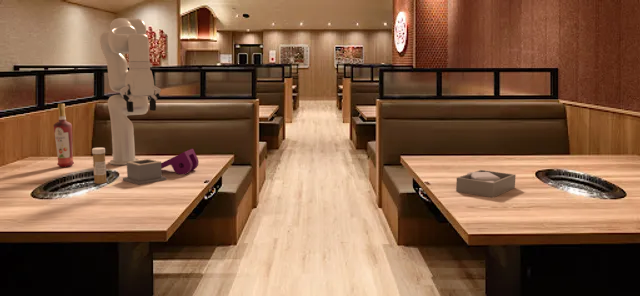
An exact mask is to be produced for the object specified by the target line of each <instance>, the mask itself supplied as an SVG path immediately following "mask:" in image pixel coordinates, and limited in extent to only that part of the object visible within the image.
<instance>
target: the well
mask: <svg viewBox="0 0 640 296" xmlns="http://www.w3.org/2000/svg"><path fill="white" fill-rule="evenodd" d="M161 163H162V161H160V160H156V159H151V158H145V159H139V160H136V161H129V162H127V165H126V173H127V176H125V177H122V180H123V181H124V182H129V183H131V184H135V185H137V186H138V185H144V184H145V185H146V184H150V183H151V184H152V183H156V182H162V181H167V177H166V176H164V175H162V172H163V171H162V170H163V169H161Z"/></svg>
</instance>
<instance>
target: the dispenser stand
mask: <svg viewBox="0 0 640 296" xmlns="http://www.w3.org/2000/svg"><path fill="white" fill-rule="evenodd" d="M475 172H490V173H492V174H494V175H496V176H498V177H500V180H498V181H495V182H485V181H478V180H472V179H470V176H471V174H473V173H470V172H469V173H470V174H468V173H466V174H463V175H461V176H458V177H456V183H455V184H456V185H455V186H456V188H455V189H456V190H455V191H456V193H457V192H458V193H464V194H469V195H475V196H476V195H477V196H482V197H487V198H495V197H497V196H500V195H502V194H504V193H506V192H509V191H511V190H513V189H515V188H516V176H517V175H516V174H512V173H507V172H506V173H505V172H499V171H492V170H485V169H479V170H477V171H475Z"/></svg>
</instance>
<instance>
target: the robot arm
mask: <svg viewBox="0 0 640 296" xmlns="http://www.w3.org/2000/svg"><path fill="white" fill-rule="evenodd" d="M109 29H110V30H108V31H104V32H101V34H100V35H99V44H100V49H101V51H102V54H103V56H104V59H105V61H106V63H107V64H106V66H107V67H106V68H107V75H108V84H109V89H110V90H111V91H113V92H116V93H117V92H118V93H119V94H114V95H112V96H109V98H108V100H107V107H108V112H109V118H110V127H111V144H112V145H111V146H112V154H111V156H112V159H111V160H109V164H110V165H114V166H125V165H126V166H127V162H129V161H136V160H140V159H138V158H136V151H135V149H136V148H135V147H136V146H135V133H134V131H135V129H134V124H133V121H131V120H130V119H129V118H128V116H138V115H141V116H142V115H145V114H147V113H148V111H149V110H150V111H153V112H154V111H157V110H156V109H157V100H158V98H159V97H160V94H161V91H162V89H161V88H160V87H158V86H156V85H155V81H154V80H155V79H154V75H153V72H152V70H151V68H153V64H152V63H151V62H150V41H149V37H148V35H147V27H146V24H145V22H144V20H142V19H139V18H127V17H126V18H125V17H118V18H115V19H113V20H112V21H111V23H110V26H109ZM124 54H125V55H128V61H127V59H126V57H124ZM128 68H129V69H128ZM149 99H150V100H149Z"/></svg>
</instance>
